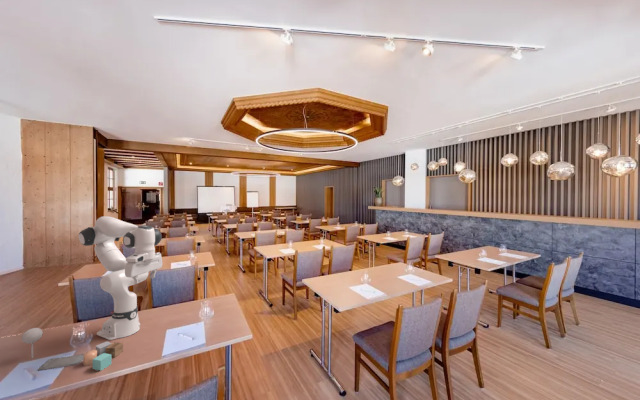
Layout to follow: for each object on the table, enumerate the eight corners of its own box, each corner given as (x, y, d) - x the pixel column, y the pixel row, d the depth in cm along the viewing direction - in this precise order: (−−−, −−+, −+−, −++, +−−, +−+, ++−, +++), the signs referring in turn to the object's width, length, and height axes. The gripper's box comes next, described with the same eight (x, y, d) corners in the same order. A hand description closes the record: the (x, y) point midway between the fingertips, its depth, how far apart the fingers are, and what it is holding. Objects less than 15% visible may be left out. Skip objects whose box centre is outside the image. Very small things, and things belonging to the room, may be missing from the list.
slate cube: (95, 355, 131) (95, 345, 131) (107, 350, 135) (107, 341, 135) (99, 358, 129) (100, 348, 129) (111, 352, 133) (111, 343, 133)
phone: (49, 361, 126) (49, 358, 126) (88, 355, 131) (88, 353, 131) (36, 372, 119) (36, 369, 119) (78, 365, 123) (78, 363, 123)
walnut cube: (105, 357, 129) (105, 347, 129) (114, 351, 134) (114, 342, 134) (114, 357, 129) (115, 348, 129) (123, 351, 134) (123, 342, 134)
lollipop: (42, 351, 133) (42, 323, 133) (43, 357, 129) (43, 328, 129) (21, 358, 128) (21, 329, 128) (21, 364, 123) (21, 333, 123)
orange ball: (80, 365, 123) (80, 355, 123) (91, 358, 128) (92, 349, 128) (88, 366, 122) (88, 356, 122) (99, 360, 127) (99, 350, 127)
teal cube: (92, 369, 120) (92, 359, 120) (103, 362, 125) (103, 353, 125) (100, 371, 119) (100, 360, 119) (111, 364, 124) (111, 354, 124)
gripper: (156, 251, 147) (156, 274, 147) (122, 259, 127) (122, 286, 127) (165, 251, 145) (165, 275, 145) (132, 260, 125) (132, 287, 125)
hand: (145, 280), depth 136 cm, fingers open, 8 cm apart
